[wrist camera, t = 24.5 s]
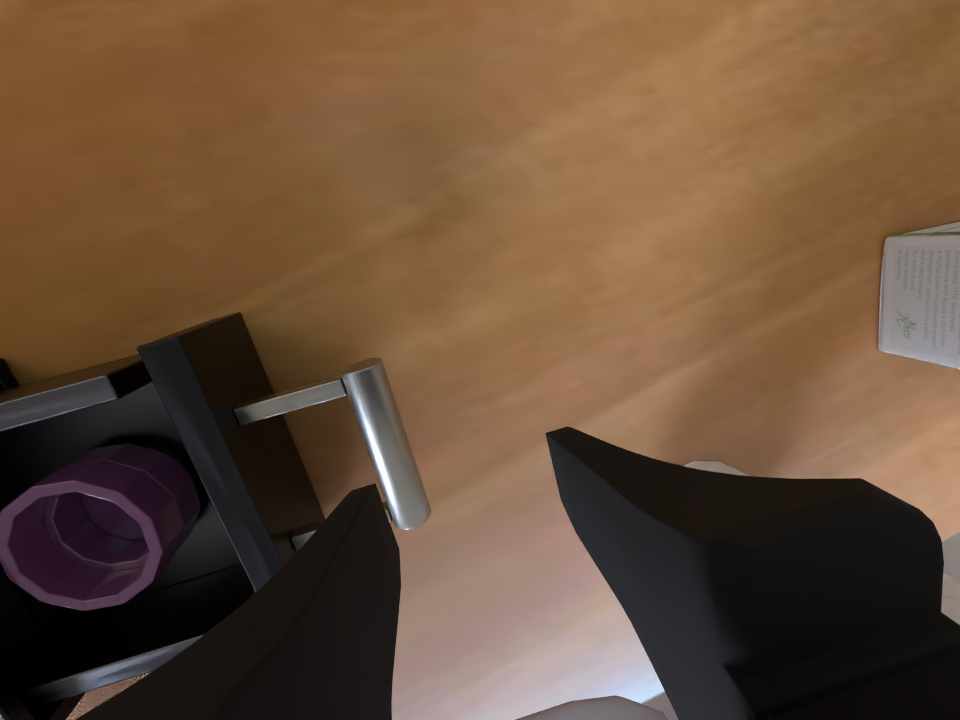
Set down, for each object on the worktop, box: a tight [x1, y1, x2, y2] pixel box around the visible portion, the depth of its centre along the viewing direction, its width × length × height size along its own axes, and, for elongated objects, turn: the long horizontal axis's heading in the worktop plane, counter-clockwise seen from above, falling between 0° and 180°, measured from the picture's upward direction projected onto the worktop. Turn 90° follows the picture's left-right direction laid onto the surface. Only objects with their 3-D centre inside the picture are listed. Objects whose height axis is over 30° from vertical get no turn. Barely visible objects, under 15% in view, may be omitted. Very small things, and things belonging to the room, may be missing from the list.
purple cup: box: [0, 443, 200, 611], centre depth 16 cm, size 5×5×3 cm
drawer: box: [0, 312, 431, 710], centre depth 16 cm, size 17×11×5 cm, turn 104°
